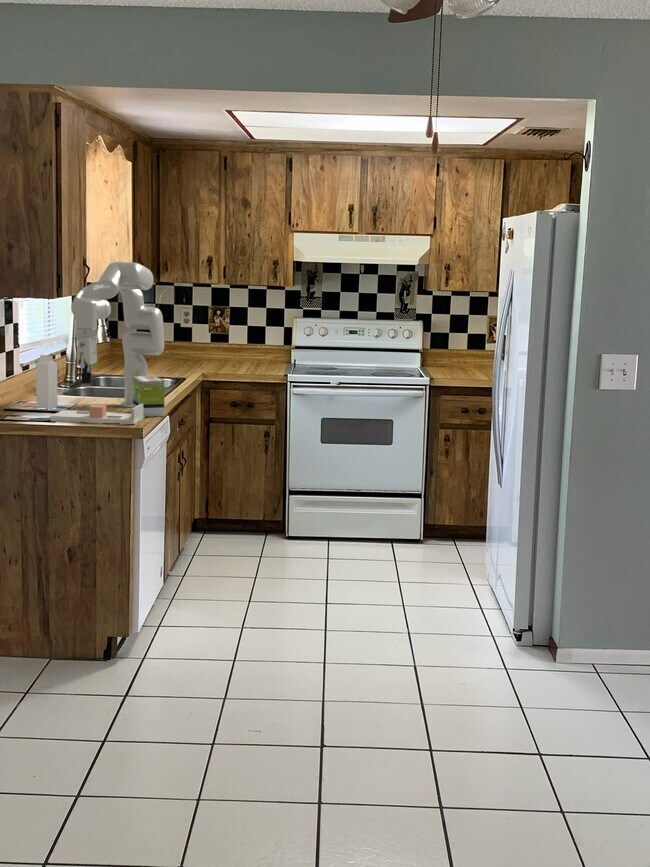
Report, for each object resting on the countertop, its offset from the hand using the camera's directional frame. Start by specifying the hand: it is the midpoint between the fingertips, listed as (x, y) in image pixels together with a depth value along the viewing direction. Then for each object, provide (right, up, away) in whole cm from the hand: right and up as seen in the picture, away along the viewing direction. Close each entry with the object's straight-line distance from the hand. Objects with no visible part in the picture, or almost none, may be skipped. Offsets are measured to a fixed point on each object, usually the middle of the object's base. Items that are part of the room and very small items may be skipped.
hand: (86, 382), depth 352 cm
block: (+2, -12, +10) cm, 16 cm away
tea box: (+17, -11, +33) cm, 39 cm away
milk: (-25, -9, +36) cm, 45 cm away
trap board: (+1, -14, +14) cm, 20 cm away
